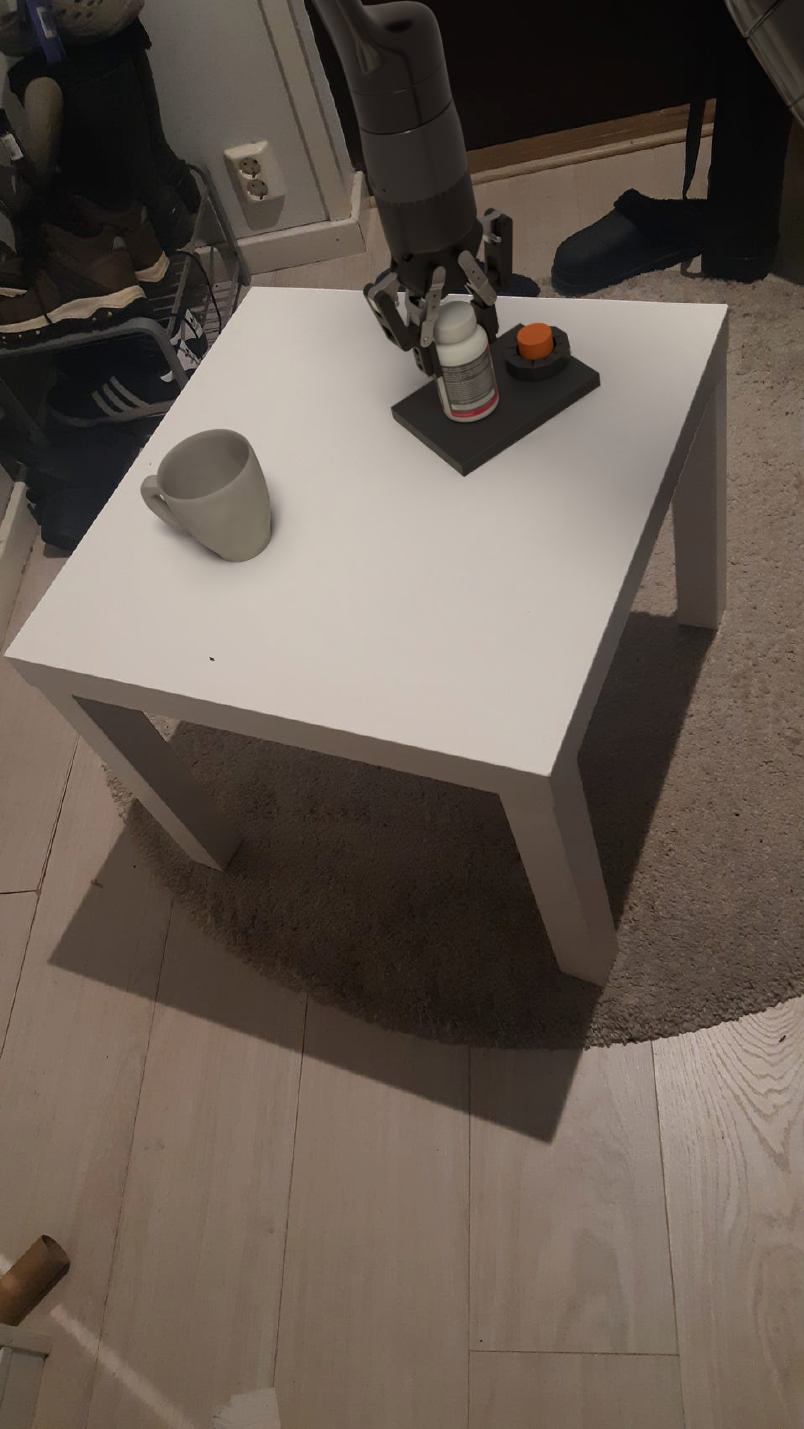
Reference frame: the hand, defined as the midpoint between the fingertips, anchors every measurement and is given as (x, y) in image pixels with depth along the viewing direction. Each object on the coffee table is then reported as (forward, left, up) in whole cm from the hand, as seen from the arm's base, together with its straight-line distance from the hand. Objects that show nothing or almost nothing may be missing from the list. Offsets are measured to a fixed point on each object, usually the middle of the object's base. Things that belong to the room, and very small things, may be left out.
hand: (460, 356), depth 88 cm
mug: (+21, +15, -7) cm, 27 cm away
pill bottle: (0, 0, -6) cm, 6 cm away
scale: (-2, -2, -7) cm, 7 cm away
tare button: (-6, -6, -4) cm, 9 cm away
